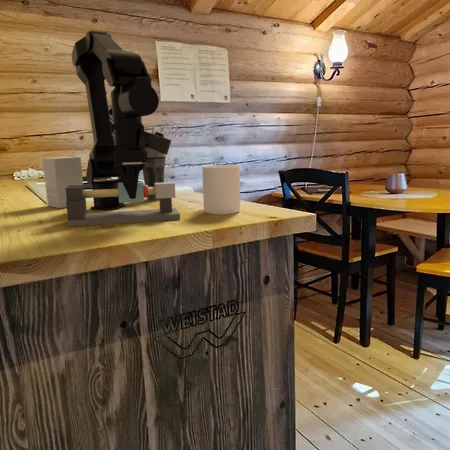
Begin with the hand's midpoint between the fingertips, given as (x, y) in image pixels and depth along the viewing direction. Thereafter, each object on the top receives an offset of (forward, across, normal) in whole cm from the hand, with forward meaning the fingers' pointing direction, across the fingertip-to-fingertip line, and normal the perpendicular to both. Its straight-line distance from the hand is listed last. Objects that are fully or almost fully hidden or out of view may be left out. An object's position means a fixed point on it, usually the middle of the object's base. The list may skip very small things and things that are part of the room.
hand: (132, 196), depth 88 cm
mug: (+5, +4, -19) cm, 20 cm away
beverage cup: (+5, +30, -6) cm, 31 cm away
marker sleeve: (+1, 0, 0) cm, 1 cm away
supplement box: (+5, +28, +17) cm, 33 cm away
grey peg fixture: (+5, 0, +2) cm, 5 cm away
